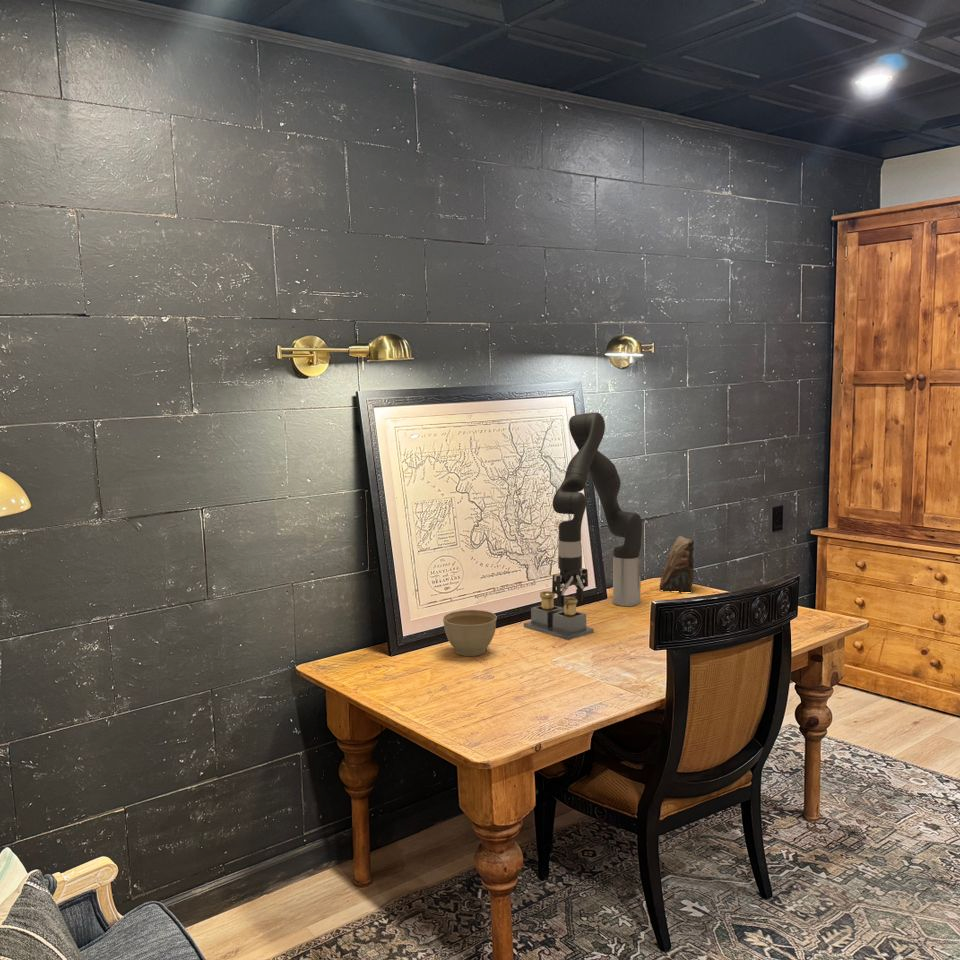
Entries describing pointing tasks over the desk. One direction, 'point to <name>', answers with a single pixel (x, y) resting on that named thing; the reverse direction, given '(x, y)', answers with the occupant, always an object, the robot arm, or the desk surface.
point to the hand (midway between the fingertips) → (570, 603)
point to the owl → (679, 567)
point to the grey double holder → (556, 619)
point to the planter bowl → (470, 631)
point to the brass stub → (570, 606)
